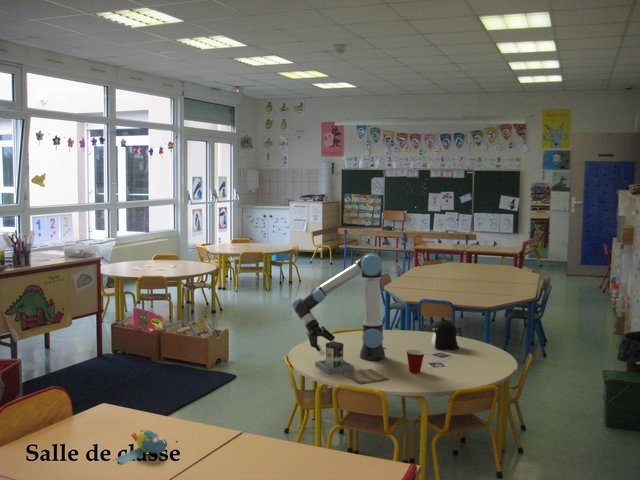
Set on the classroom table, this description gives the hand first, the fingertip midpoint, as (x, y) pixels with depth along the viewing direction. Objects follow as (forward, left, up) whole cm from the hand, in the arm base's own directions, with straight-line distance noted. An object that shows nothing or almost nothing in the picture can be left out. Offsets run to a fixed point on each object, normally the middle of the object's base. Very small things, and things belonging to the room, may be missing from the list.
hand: (330, 352), depth 355 cm
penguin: (-87, -6, -9) cm, 88 cm away
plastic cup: (-39, +27, -9) cm, 49 cm away
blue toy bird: (+116, +65, -10) cm, 134 cm away
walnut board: (-9, +23, -9) cm, 26 cm away
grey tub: (-1, +2, -9) cm, 9 cm away
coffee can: (-1, +2, -9) cm, 9 cm away
